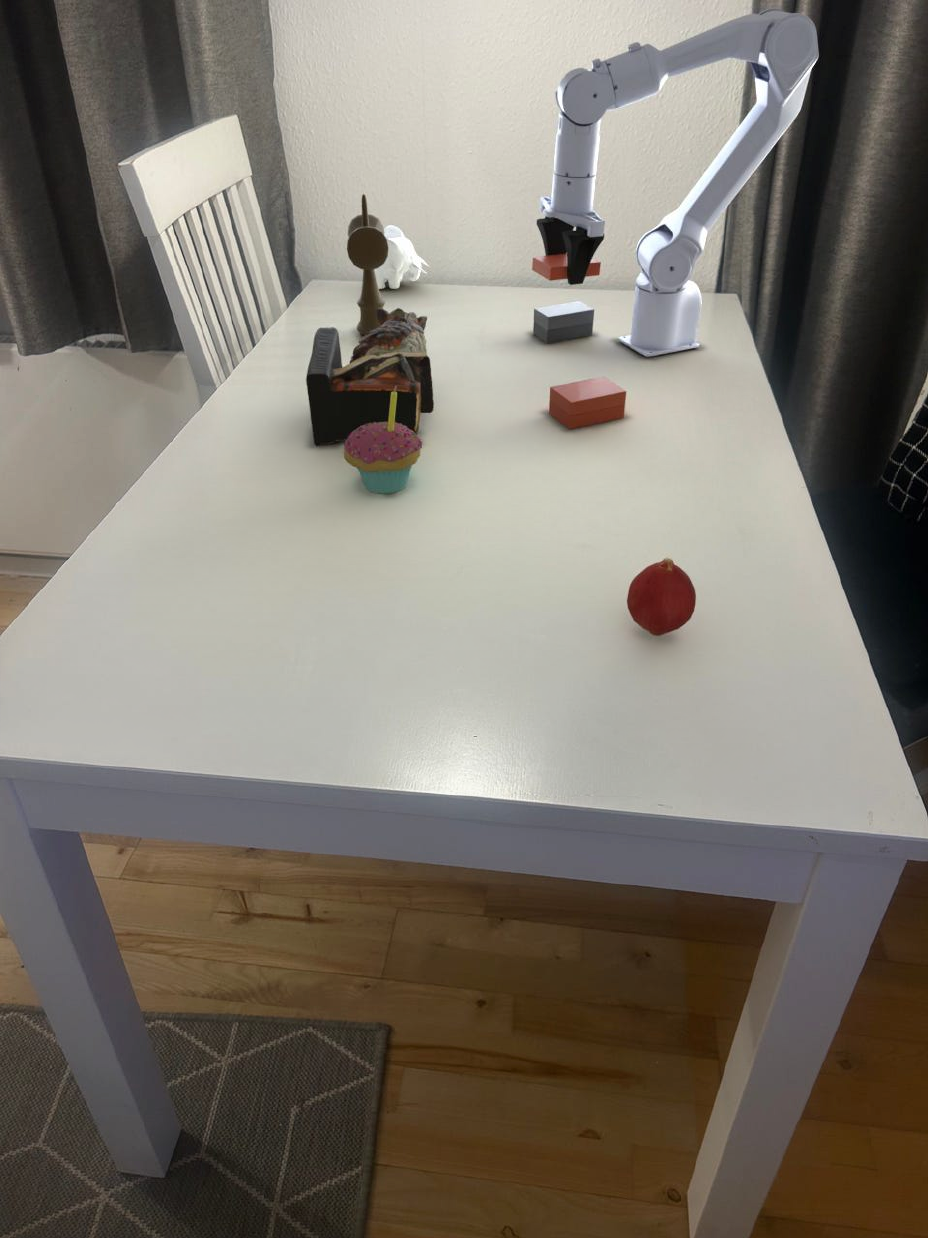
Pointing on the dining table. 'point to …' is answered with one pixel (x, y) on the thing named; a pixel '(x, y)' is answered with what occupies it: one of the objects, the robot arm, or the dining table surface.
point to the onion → (661, 598)
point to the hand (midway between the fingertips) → (565, 277)
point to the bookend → (370, 377)
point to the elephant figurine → (398, 260)
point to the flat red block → (559, 267)
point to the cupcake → (383, 452)
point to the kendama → (367, 263)
